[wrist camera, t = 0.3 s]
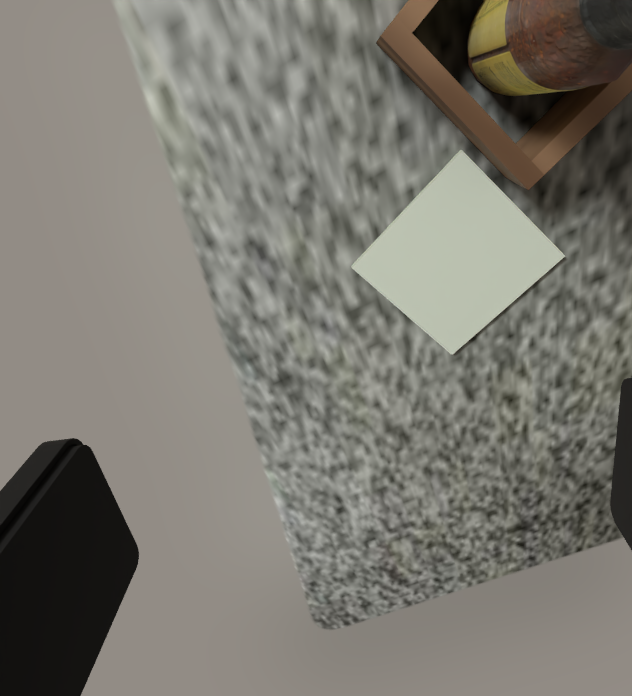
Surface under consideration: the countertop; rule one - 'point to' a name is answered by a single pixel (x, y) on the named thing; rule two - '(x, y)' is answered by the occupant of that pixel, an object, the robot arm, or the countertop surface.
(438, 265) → the sage mat
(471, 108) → the frame
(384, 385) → the countertop surface
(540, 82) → the sauce bottle
